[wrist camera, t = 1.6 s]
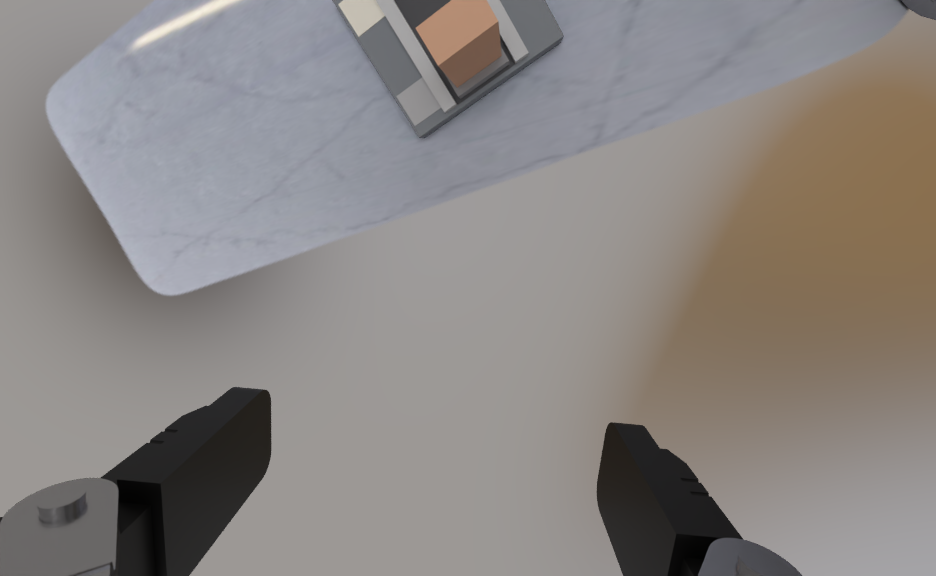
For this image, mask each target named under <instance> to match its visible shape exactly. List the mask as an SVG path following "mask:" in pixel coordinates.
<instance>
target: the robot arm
mask: <svg viewBox="0 0 936 576" xmlns="http://www.w3.org/2000/svg"><path fill="white" fill-rule="evenodd" d="M901 1H902V2H903V3H904V4H905V5H906V6H907V7H908V8H909V9H910V10H912V11H914V12H916V13H917V14H919V15H921V16H924V17H927V18H931V19H934V20H936V0H901ZM270 457H271V398H270V394H269V392H268V391H267V390H261V389H251V388H240V387H233V388H231V389H230V390H228V391H227V392H226V393H225V394H223V395H222V396H221V397H220V398H218V399H217V400H216V401H215V402H213V403H212V404H211V405H210V406H204V407H202V408H200V409H197V410H195V411H193V412H190V413H188V414H186V415H183V416H182V417H180V418H179V419H178V420H176V421H175V422H174V423H172V424H171V425H170V426H168V427H167V428H166V429H165V431H164V432H161V433H159V434H158V435H156V436H155V437H154V438H152V439H151V441H150V443H146V444H145V445H143V446H142V447H141V448H139V449H138V450H137V451H135V452H134V453H133V454H131V455H130V456H129V457H127V458H126V459H125V460H123V461H122V462H121V463H120V464H118V465H117V466H116V467H114V468H113V469H112V470H110V471H109V472H108V473H106V474H105V475H104V476H103V477H101V478H84V479H76V480H72V481H67V482H63V483H59V484H56V485H53V486H50V487H47V488H45V489H42V490H40V491H38V492H36V493H34V494H32V495H30V496H28V497H26V498H25V499H23V500H21V501H20V502H18V503H17V504H15V505H14V506H13V507H12V508H11V509H10V510H9V511H8V512H7V513H6V514H5V515H4V517H0V576H189V575H190V574H191V572H192V571H193V569H194V568H195V567H196V566H197V565H198V563H199V562H200V561H201V559H202V558H203V556H204V555H205V554H206V553H207V551H208V550H209V548H210V547H211V546H212V545H213V543H214V542H215V541H216V539H217V538H218V537H219V535H220V534H221V533H222V531H223V530H224V529H225V527H226V526H227V525H228V523H229V522H230V521H231V519H232V518H233V517H234V516H235V514H236V513H237V512H238V510H239V509H240V508H241V506H242V505H243V503H244V502H245V501H246V500H247V498H248V497H249V496H250V494H251V493H252V492H253V490H254V489H255V488H256V486H257V485H258V484H259V482H260V481H261V480H262V478H263V477H264V475H265V473H266V471H267V468H268V465H269V461H270ZM708 494H709V493H708V492H707V491H706V489H705V488H704V486H703V485H702V484H701V483H699V482H698V478H697V477H696V476H695V474H694V473H693V472H692V470H691V469H690V468H689V466H688V465H687V464H686V463H685V462H683V461H682V460H681V459H680V458H678V457H677V456H675V455H674V454H673V453H671V452H670V451H669V450H667V449H660V448H659V447H658V445H657V444H656V442H655V441H654V439H653V438H652V437H651V435H650V434H649V432H648V431H647V429H646V428H645V427H644V426H643V425H634V424H623V423H609V424H608V426H607V429H606V433H605V439H604V445H603V450H602V457H601V463H600V469H599V475H598V481H597V501H598V507H599V511H600V514H601V517H602V519H603V522H604V525H605V527H606V530H607V533H608V536H609V538H610V541H611V544H612V546H613V549H614V552H615V554H616V557H617V560H618V563H619V565H620V568H621V571H622V573H623V576H802V575H801V574H800V573H799V572H798V571H797V569H796V568H795V567H793V566H792V565H791V564H790V563H789V562H787V561H786V560H785V559H783V558H782V557H781V556H779V555H777V554H776V553H774V552H772V551H770V550H769V549H767V548H765V547H763V546H760V545H758V544H756V543H753V542H750V541H747V540H743V538H742V537H741V536H740V534H739V533H738V532H737V530H736V529H735V528H734V526H733V525H732V524H731V523H730V521H729V520H728V518H727V517H726V516H725V514H724V513H723V512H722V510H721V509H720V508H719V506H718V505H717V504H716V502H715V501H714V500H713V498H712V497H709V495H708Z"/></svg>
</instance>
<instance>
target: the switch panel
mask: <svg viewBox="0 0 936 576" xmlns="http://www.w3.org/2000/svg"><path fill="white" fill-rule="evenodd" d="M332 1H333V2H334V4H335V5H336V7H337V9H338V10H339V12H340V13H341V15H342V16H343V18H344V20H345V21H346V23H347V24H348V26H349V28H350V29H351V31H352V32H353V34H354V35H355V37H356V39H357V40H358V42H359V43H360V45H361V46H362V48H363V50H364V51H365V53H366V54H367V56H368V58H369V59H370V61H371V62H372V64H373V65H374V67H375V69H376V70H377V72H378V73H379V75H380V76H381V78H382V80H383V81H384V83H385V84H386V86H387V88H388V89H389V91H390V92H391V94H392V95H393V97H394V99H395V100H396V102H397V103H398V105H399V107H400V108H401V110H402V111H403V113H404V114H405V116H406V118H407V119H408V121H409V122H410V124H411V125H412V127H413V129H414V130H415V132H416V133H417V135H418V137H419V138H425V137H426V136H428V135H429V134H431V133H432V132H434V131H435V130H436V129H438V128H439V127H441V126H442V125H444V124H445V123H446V122H448V121H449V120H451V119H452V118H454V117H455V116H456V115H458V114H459V113H461V112H462V111H464V110H465V109H466V108H468V107H469V106H471V105H472V104H474V103H475V102H476V101H478V100H479V99H481V98H482V97H484V96H485V95H486V94H488V93H489V92H491V91H492V90H494V89H495V88H496V87H498V86H499V85H501V84H502V83H504V82H505V81H506V80H508V79H509V78H511V77H512V76H514V75H515V74H516V73H518V72H519V71H521V70H522V69H524V68H525V67H526V66H528V65H529V64H531V63H532V62H534V61H535V60H536V59H538V58H539V57H541V56H542V55H544V54H545V53H546V52H548V51H549V50H551V49H552V48H554V47H555V46H556V45H558V44H559V43H561V41H562V39H563V37H564V35H563V33H562V31H561V30H560V28H559V26H558V24H557V22H556V20H555V18H554V16H553V15H552V13H551V11H550V9H549V7H548V5H547V3H546V1H545V0H487V2H488V4H489V5H490V7H491V9H492V11H493V12H494V14H495V16H496V18H497V20H498V22H499V33H500V43H501V47H502V49H503V51H504V53H505V54H506V56H507V58H508V60H509V65H508V66H506V67H505V68H504V69H502V70H501V71H499V72H498V73H496V74H495V75H494V76H492V77H491V78H489V79H488V80H487V81H485V82H484V83H482V84H481V85H480V86H478V87H477V88H475V89H474V90H473V91H471V92H470V93H468V94H467V95H465V96H464V97H463V98H461V99H460V98H459V97H458V95H457V94H456V92H455V90H454V89H453V87H452V85H451V84H450V82H449V80H448V79H447V77H446V76H445V74H444V72H443V71H442V70H441V69H440V67H439V66H438V65H437V63H436V62H435V60H434V58H433V57H432V55H431V53H430V52H429V50H428V48H427V47H426V45H425V43H424V42H423V40H422V38H421V37H420V35H419V33H418V32H417V30H416V27H417V26H419V25H420V24H421V23H423V22H424V21H425V20H426V19H428V18H429V17H430V16H432V15H433V14H434V13H435V12H437V11H438V10H439V9H441V8H442V7H443V6H445V5H446V4H447V3H448V2H450V1H451V0H332Z"/></svg>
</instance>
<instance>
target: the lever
mask: <svg viewBox="0 0 936 576" xmlns="http://www.w3.org/2000/svg"><path fill="white" fill-rule="evenodd" d="M416 30H417V32H418V33H419V35H420V37H421V38H422V40H423V42H424V43H425V45H426V47H427V48H428V50H429V52H430V53H431V55H432V57H433V58H434V60H435V62H436V63H437V65H438V66H439V67H440V69H441V70H442V71H443V72H444V74H445V76H446V77H447V79H448V80H449V82H450V84H451V85H452V87H453V89H454V90H455V92H456V94H457V95H458V97H459V98H460V99H461V98H463V97H464V96H465V95H467V94H468V93H470V92H471V91H473V90H474V89H475V88H477V87H478V86H480V85H481V84H482V83H484V82H485V81H487V80H488V79H489V78H491V77H492V76H494V75H495V74H496V73H498V72H499V71H501V70H502V69H504V68H505V67H506V66H508V65H509V60H508V58H507V56H506V54H505V53H504V51H503V49H502V47H501V43H500V33H499V22H498V20H497V18H496V16H495V14H494V12H493V11H492V9H491V7H490V5H489V4H488V2H487V0H451V1H450V2H448V3H447V4H446V5H445V6H443V7H442V8H441V9H439V10H438V11H437V12H435V13H434V14H433V15H432V16H430V17H429V18H428V19H426V20H425V21H424V22H423V23H421V24H420V25H419V26H417V27H416Z"/></svg>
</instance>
